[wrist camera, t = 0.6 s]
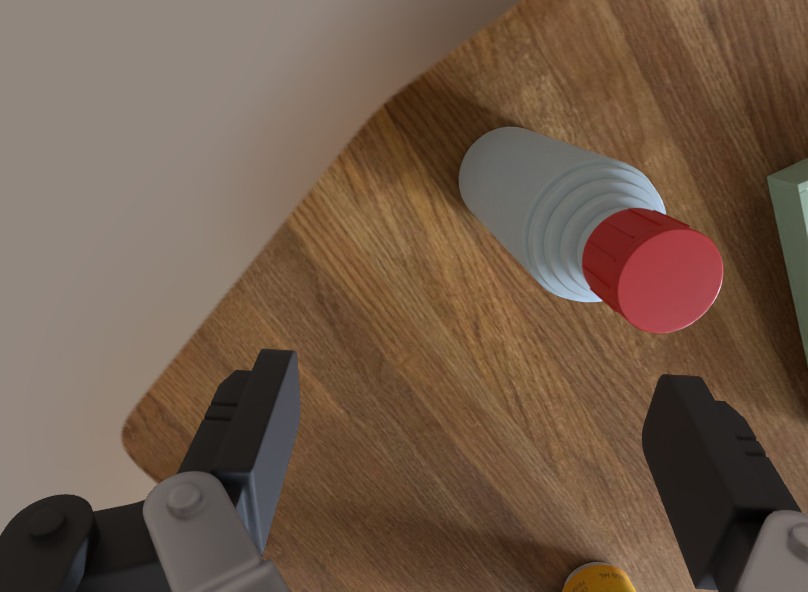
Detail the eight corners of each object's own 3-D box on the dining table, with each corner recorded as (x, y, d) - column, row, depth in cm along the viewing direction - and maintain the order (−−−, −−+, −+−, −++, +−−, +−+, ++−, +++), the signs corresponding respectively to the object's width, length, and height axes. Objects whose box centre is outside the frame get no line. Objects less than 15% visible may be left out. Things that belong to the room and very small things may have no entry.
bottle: (443, 153, 39) (548, 237, 20) (535, 108, 39) (728, 153, 20) (480, 241, 41) (605, 388, 23) (567, 199, 41) (766, 314, 22)
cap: (568, 234, 23) (602, 259, 20) (661, 190, 23) (709, 209, 20) (597, 316, 25) (634, 350, 22) (685, 275, 24) (734, 305, 21)
